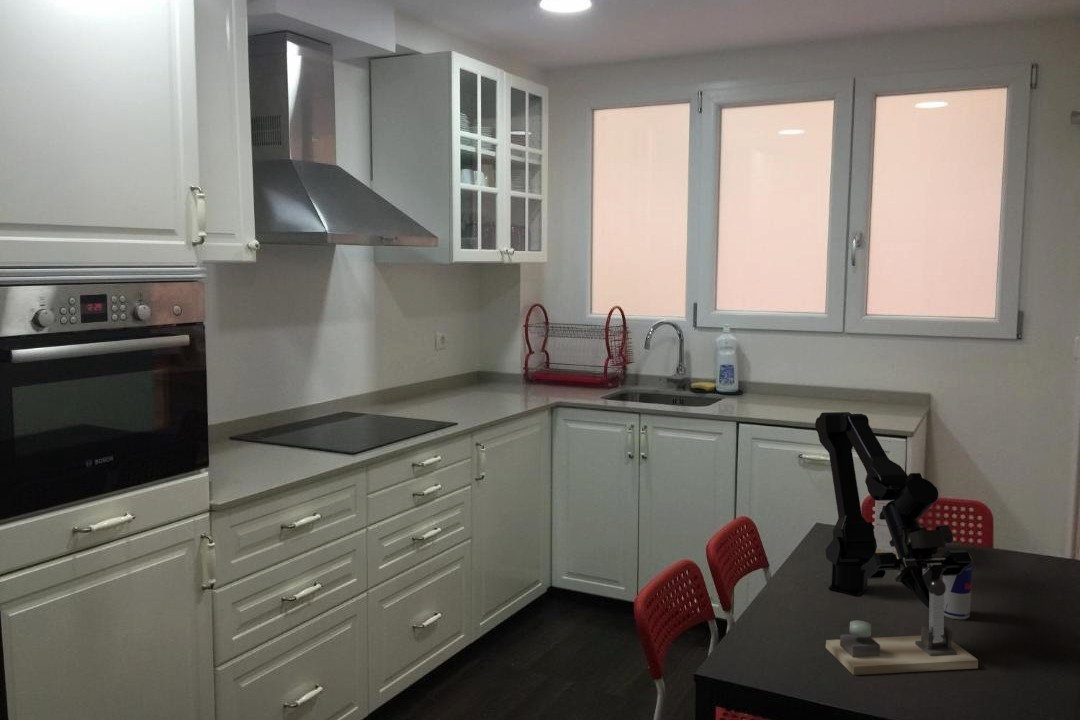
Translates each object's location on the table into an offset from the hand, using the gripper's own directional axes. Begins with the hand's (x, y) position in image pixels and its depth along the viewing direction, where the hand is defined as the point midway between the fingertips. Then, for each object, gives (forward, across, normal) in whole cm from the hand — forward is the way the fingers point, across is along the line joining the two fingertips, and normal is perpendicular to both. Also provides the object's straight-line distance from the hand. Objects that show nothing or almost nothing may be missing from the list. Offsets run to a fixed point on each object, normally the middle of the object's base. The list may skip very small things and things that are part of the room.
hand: (933, 607), depth 164 cm
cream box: (-30, +20, +43) cm, 56 cm away
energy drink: (-5, +15, +18) cm, 24 cm away
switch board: (+7, -6, +5) cm, 11 cm away
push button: (+3, -14, +2) cm, 15 cm away
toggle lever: (+6, 0, +3) cm, 7 cm away
